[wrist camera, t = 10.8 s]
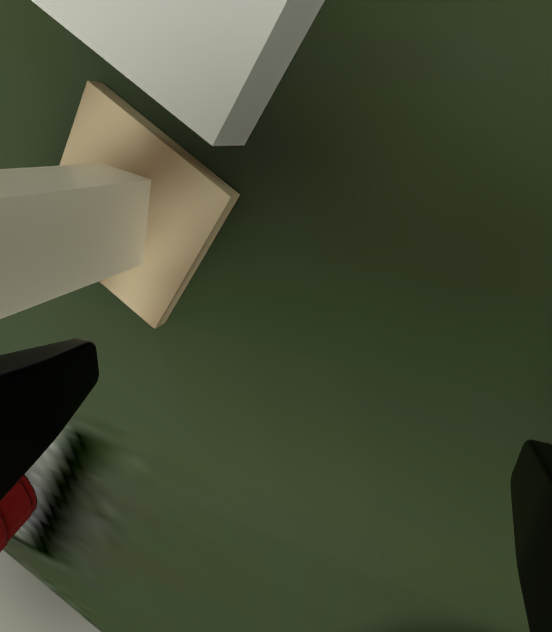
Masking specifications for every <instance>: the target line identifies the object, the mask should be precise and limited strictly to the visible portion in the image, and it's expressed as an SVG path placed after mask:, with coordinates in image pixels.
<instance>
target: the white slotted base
mask: <svg viewBox="0 0 552 632" xmlns="http://www.w3.org/2000/svg"><path fill="white" fill-rule="evenodd" d="M31 1H33V2H34V3H35V4H36V5H38V6H39V7H40V8H41V9H43V10H44V11H45V12H46V13H48V14H49V15H50V16H51V17H53V18H54V19H55V20H56V21H57V22H59V23H60V24H61V25H62V26H64V27H65V28H66V29H67V30H69V31H70V32H71V33H72V34H74V35H75V36H76V37H77V38H79V39H80V40H81V41H82V42H84V43H85V44H86V45H87V46H89V47H90V48H91V49H92V50H94V51H95V52H96V53H97V54H98V55H100V56H101V57H102V58H103V59H105V60H106V61H107V62H108V63H110V64H111V65H112V66H113V67H115V68H116V69H117V70H118V71H120V72H121V73H122V74H123V75H125V76H126V77H127V78H128V79H130V80H131V81H132V82H133V83H135V84H136V85H137V86H138V87H139V88H141V89H142V90H143V91H144V92H146V93H147V94H148V95H149V96H151V97H152V98H153V99H154V100H156V101H157V102H158V103H159V104H161V105H162V106H163V107H164V108H166V109H167V110H168V111H169V112H171V113H172V114H173V115H174V116H176V117H177V118H178V119H179V120H181V121H182V122H183V123H184V124H185V125H187V126H188V127H189V128H190V129H192V130H193V131H194V132H195V133H197V134H198V135H199V136H200V137H202V138H203V139H204V140H205V141H207V142H208V143H209V144H210V145H212V146H239V145H245V143H246V142H247V140H248V138H249V136H250V134H251V133H252V131H253V129H254V127H255V125H256V124H257V122H258V120H259V118H260V116H261V115H262V113H263V111H264V109H265V107H266V106H267V104H268V102H269V100H270V98H271V97H272V95H273V93H274V91H275V89H276V88H277V86H278V84H279V82H280V80H281V79H282V77H283V75H284V73H285V71H286V70H287V68H288V66H289V64H290V62H291V61H292V59H293V57H294V55H295V53H296V52H297V50H298V48H299V46H300V44H301V43H302V41H303V39H304V37H305V35H306V34H307V32H308V30H309V28H310V26H311V25H312V23H313V21H314V19H315V17H316V16H317V14H318V12H319V10H320V8H321V7H322V5H323V3H324V1H325V0H31Z"/></svg>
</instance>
